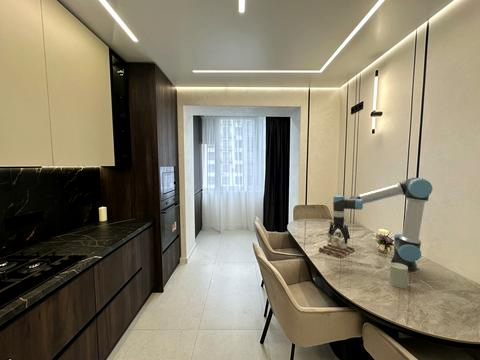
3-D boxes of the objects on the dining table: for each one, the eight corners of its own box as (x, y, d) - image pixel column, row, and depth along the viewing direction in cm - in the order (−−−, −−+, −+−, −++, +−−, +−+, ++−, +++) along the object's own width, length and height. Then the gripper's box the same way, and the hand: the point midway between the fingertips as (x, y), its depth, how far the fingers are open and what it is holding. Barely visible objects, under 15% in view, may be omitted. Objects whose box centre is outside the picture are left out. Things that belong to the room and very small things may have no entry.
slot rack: (354, 250, 192) (354, 247, 191) (341, 258, 177) (341, 254, 176) (332, 244, 207) (332, 241, 207) (318, 251, 192) (318, 248, 192)
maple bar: (346, 247, 164) (346, 239, 164) (342, 248, 162) (342, 240, 162) (335, 243, 173) (335, 236, 173) (331, 244, 171) (331, 236, 171)
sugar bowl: (348, 244, 208) (348, 228, 208) (332, 244, 208) (332, 228, 207) (338, 237, 228) (338, 222, 227) (323, 237, 228) (324, 223, 227)
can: (390, 278, 144) (390, 260, 143) (408, 283, 138) (408, 264, 137) (388, 284, 137) (389, 265, 136) (407, 289, 131) (407, 269, 130)
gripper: (355, 218, 158) (355, 249, 159) (330, 213, 178) (330, 240, 180) (348, 219, 155) (348, 251, 156) (323, 214, 175) (323, 242, 176)
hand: (338, 245), depth 168 cm, fingers closed on maple bar, 10 cm apart
